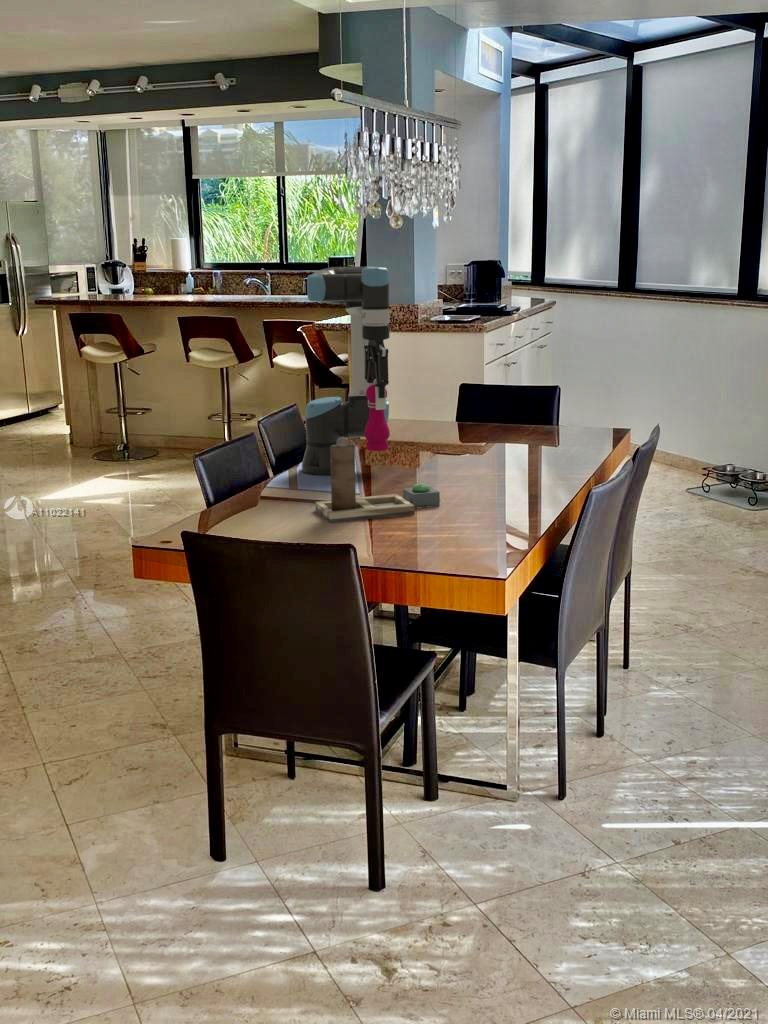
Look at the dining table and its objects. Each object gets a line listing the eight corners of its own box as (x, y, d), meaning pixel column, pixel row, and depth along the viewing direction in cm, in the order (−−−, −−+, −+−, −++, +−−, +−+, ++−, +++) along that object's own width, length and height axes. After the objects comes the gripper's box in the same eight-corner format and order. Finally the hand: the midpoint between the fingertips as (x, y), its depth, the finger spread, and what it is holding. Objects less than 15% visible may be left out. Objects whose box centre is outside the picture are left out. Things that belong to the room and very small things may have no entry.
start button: (410, 498, 303) (410, 484, 302) (425, 496, 305) (425, 483, 304) (416, 502, 299) (416, 488, 298) (432, 500, 300) (432, 486, 299)
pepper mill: (375, 445, 308) (374, 376, 302) (395, 448, 303) (394, 378, 298) (359, 449, 302) (358, 379, 297) (378, 452, 298) (378, 381, 293)
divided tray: (315, 510, 296) (315, 501, 295) (396, 502, 304) (396, 493, 303) (330, 522, 283) (330, 513, 283) (414, 514, 291) (414, 505, 290)
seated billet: (328, 509, 293) (326, 435, 288) (351, 506, 295) (350, 434, 290) (335, 514, 287) (334, 440, 282) (358, 512, 289) (357, 438, 284)
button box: (403, 501, 304) (403, 488, 303) (429, 499, 307) (429, 485, 306) (413, 508, 297) (413, 494, 296) (439, 505, 300) (439, 491, 299)
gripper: (352, 322, 301) (353, 403, 307) (374, 327, 284) (375, 413, 290) (377, 321, 303) (378, 401, 309) (400, 326, 286) (401, 411, 292)
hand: (376, 407), depth 300 cm, fingers closed on pepper mill, 6 cm apart
